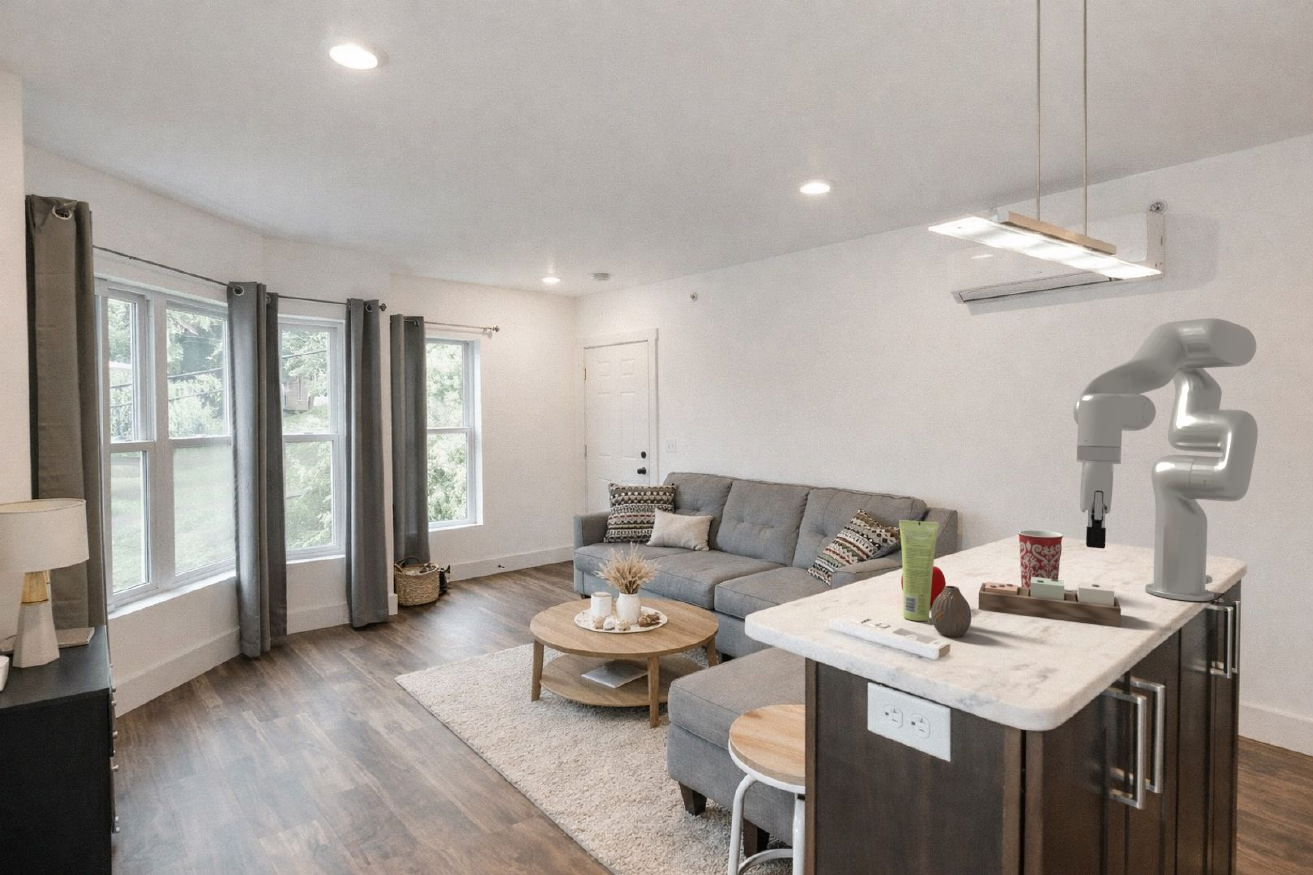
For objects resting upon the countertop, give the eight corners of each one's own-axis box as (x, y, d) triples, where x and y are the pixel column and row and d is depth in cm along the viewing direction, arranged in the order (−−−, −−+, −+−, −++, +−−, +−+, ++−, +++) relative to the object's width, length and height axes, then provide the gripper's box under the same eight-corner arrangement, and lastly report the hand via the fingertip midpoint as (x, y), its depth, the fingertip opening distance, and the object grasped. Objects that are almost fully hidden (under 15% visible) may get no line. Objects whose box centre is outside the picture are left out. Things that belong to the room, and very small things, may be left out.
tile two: (1063, 594, 150) (1063, 578, 150) (1063, 600, 145) (1064, 584, 144) (1030, 590, 153) (1031, 575, 153) (1030, 597, 147) (1030, 581, 147)
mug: (1047, 598, 159) (1048, 537, 159) (1008, 589, 167) (1010, 531, 167) (1078, 591, 166) (1080, 533, 165) (1040, 583, 174) (1041, 527, 173)
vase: (924, 628, 137) (925, 582, 136) (959, 627, 137) (960, 582, 137) (941, 640, 130) (942, 592, 130) (978, 639, 130) (979, 591, 130)
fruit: (955, 606, 153) (956, 559, 153) (923, 611, 149) (924, 563, 149) (921, 595, 161) (922, 551, 161) (891, 600, 157) (891, 554, 157)
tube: (920, 613, 147) (921, 518, 146) (937, 620, 142) (939, 521, 141) (897, 616, 145) (898, 519, 144) (914, 623, 140) (916, 523, 140)
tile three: (1017, 598, 154) (1017, 583, 154) (1016, 605, 149) (1016, 589, 149) (986, 595, 157) (987, 580, 157) (984, 601, 152) (984, 586, 151)
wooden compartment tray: (1116, 613, 147) (1116, 596, 147) (1120, 626, 138) (1120, 608, 138) (982, 598, 159) (982, 582, 159) (978, 609, 150) (978, 592, 150)
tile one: (1111, 599, 146) (1111, 583, 146) (1113, 606, 140) (1114, 590, 140) (1077, 595, 149) (1077, 580, 148) (1078, 602, 143) (1078, 586, 143)
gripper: (1075, 453, 152) (1072, 540, 152) (1078, 456, 139) (1074, 551, 139) (1117, 455, 148) (1114, 543, 149) (1124, 458, 135) (1121, 555, 136)
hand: (1095, 547), depth 144 cm, fingers closed
